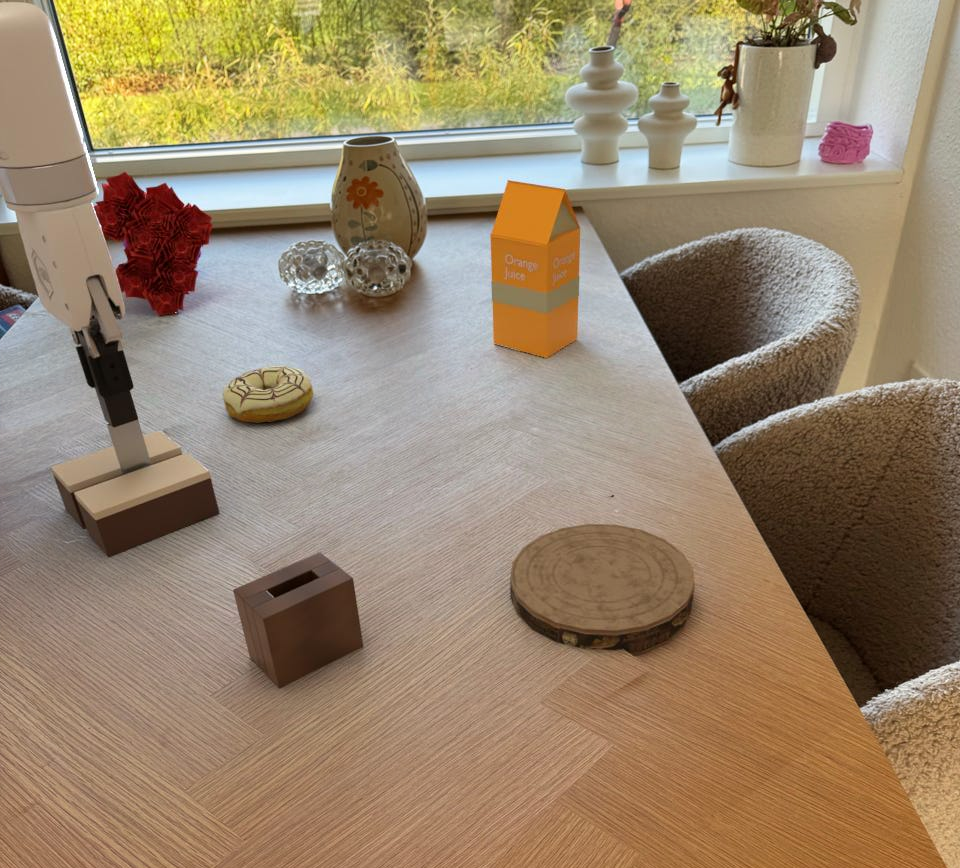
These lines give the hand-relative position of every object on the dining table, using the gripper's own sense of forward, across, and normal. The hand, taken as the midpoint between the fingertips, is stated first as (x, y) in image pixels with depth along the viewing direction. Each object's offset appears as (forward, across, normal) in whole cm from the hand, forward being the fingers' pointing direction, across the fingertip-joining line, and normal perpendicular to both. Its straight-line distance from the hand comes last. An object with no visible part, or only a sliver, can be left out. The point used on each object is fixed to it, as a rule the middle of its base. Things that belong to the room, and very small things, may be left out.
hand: (111, 386), depth 91 cm
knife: (+13, 0, 0) cm, 13 cm away
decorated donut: (+14, -12, +21) cm, 28 cm away
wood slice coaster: (+14, +42, +24) cm, 51 cm away
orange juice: (+14, -6, +58) cm, 60 cm away
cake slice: (+14, +3, -1) cm, 14 cm away
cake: (+14, -4, -1) cm, 14 cm away
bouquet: (+14, -65, +30) cm, 73 cm away
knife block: (+14, +32, 0) cm, 35 cm away
